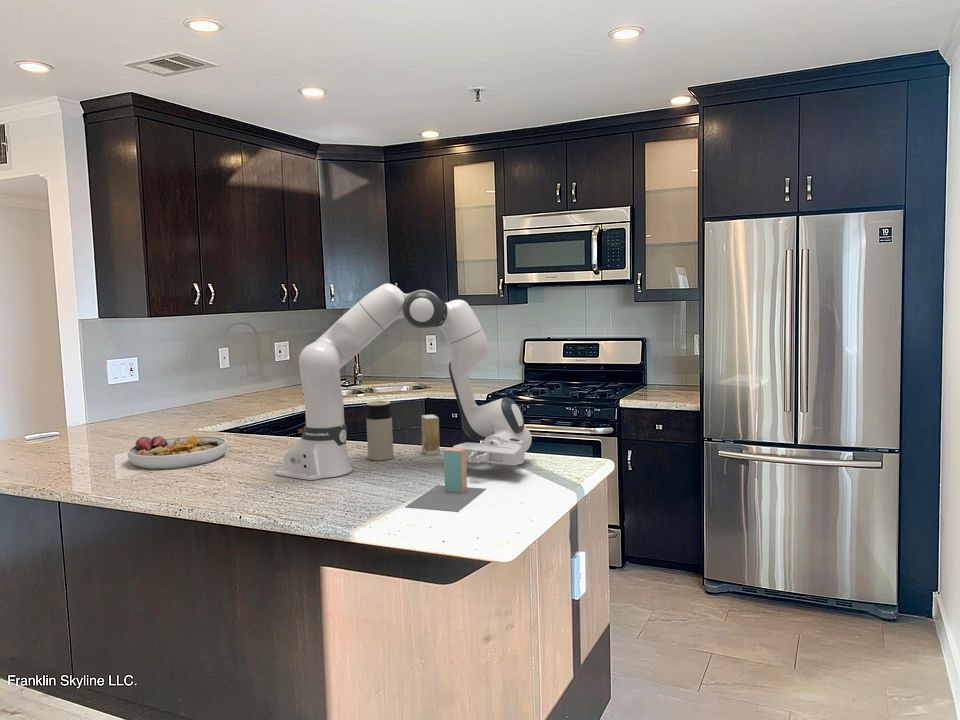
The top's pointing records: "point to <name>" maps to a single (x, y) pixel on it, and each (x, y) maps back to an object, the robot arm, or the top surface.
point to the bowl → (176, 451)
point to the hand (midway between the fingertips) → (472, 459)
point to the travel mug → (379, 430)
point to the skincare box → (430, 435)
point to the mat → (445, 499)
